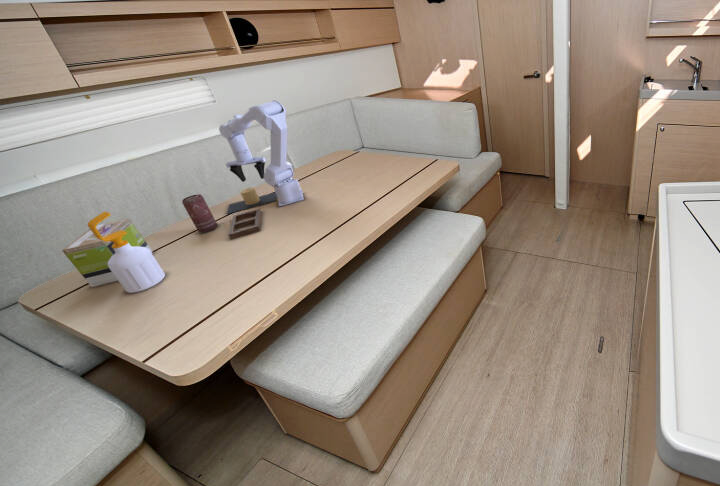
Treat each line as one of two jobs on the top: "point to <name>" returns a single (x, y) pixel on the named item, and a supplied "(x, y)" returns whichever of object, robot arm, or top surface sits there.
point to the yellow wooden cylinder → (250, 196)
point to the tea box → (101, 251)
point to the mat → (242, 205)
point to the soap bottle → (129, 260)
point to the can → (199, 213)
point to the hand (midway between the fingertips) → (253, 179)
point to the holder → (245, 223)
